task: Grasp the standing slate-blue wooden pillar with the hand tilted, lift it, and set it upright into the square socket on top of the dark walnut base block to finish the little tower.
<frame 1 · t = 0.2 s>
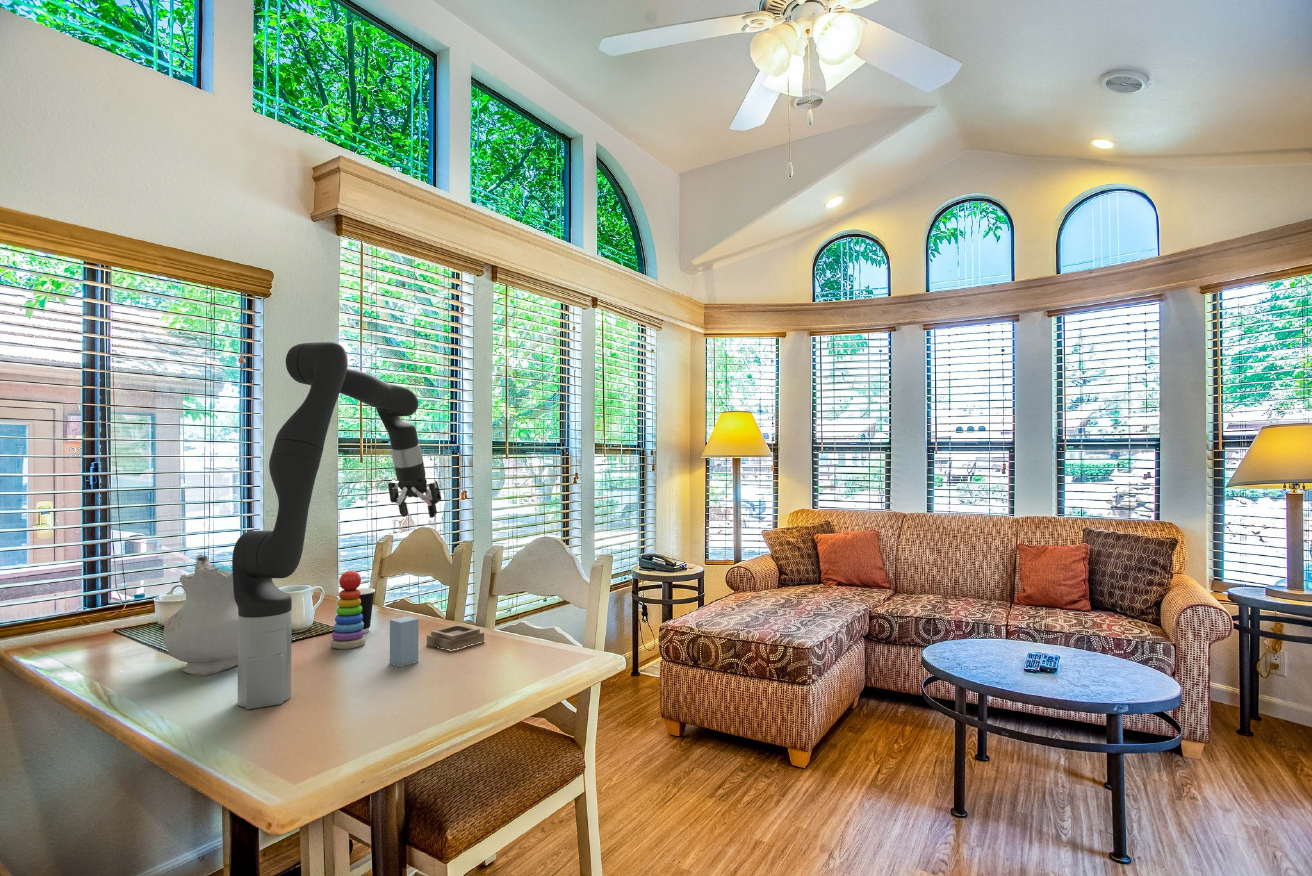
hand: (419, 516, 192), 31 cm above the table, tool tilted 20°, fingers open, 8 cm apart
stacking toy: (348, 646, 175), on the table
walnut socket base: (455, 643, 176), on the table
ceramic pitcher: (211, 666, 159), on the table
dixie cup: (359, 632, 189), on the table
slate-blue pillar: (404, 662, 160), on the table
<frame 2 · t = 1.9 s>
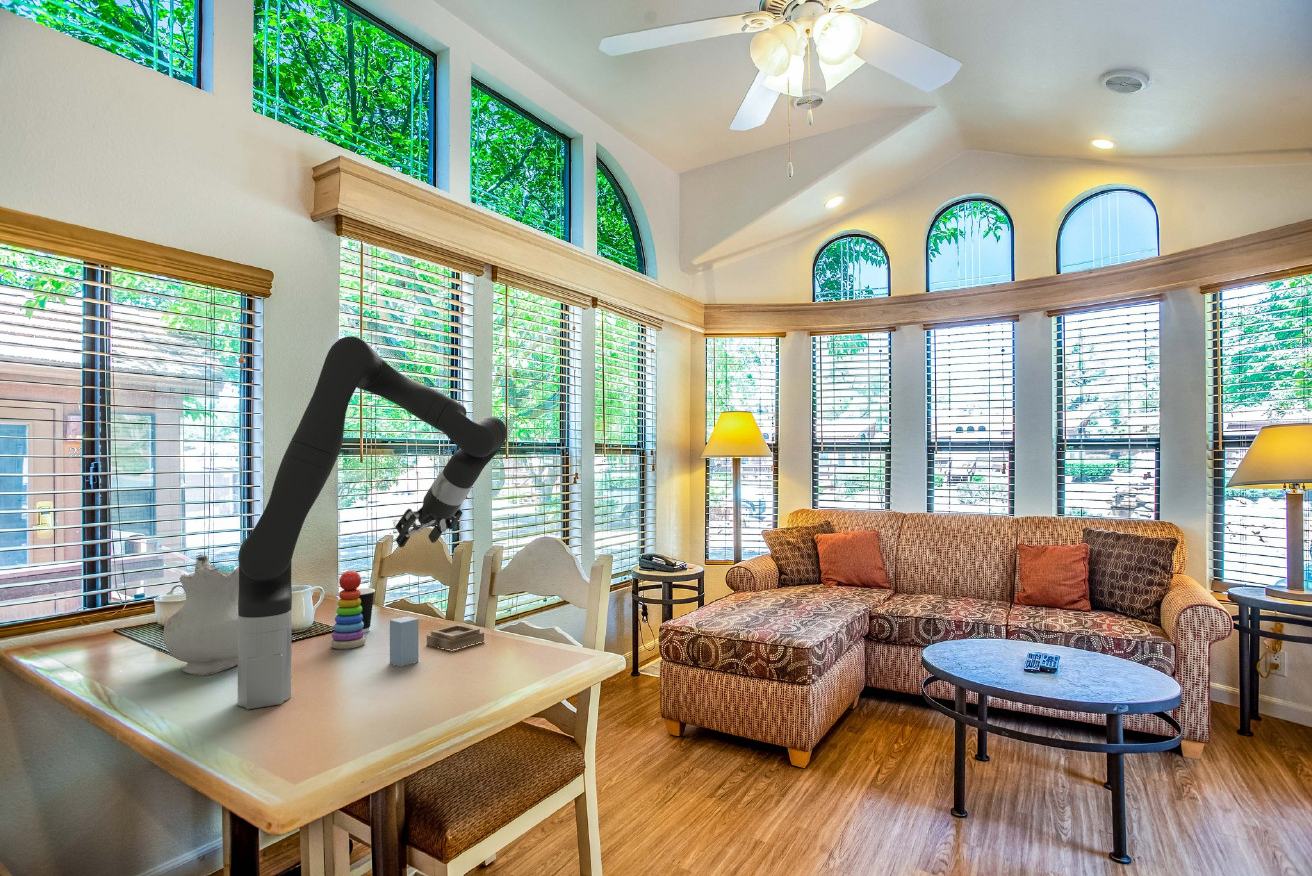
hand: (415, 542, 156), 28 cm above the table, tool tilted 45°, fingers open, 8 cm apart
nothing on the table moved.
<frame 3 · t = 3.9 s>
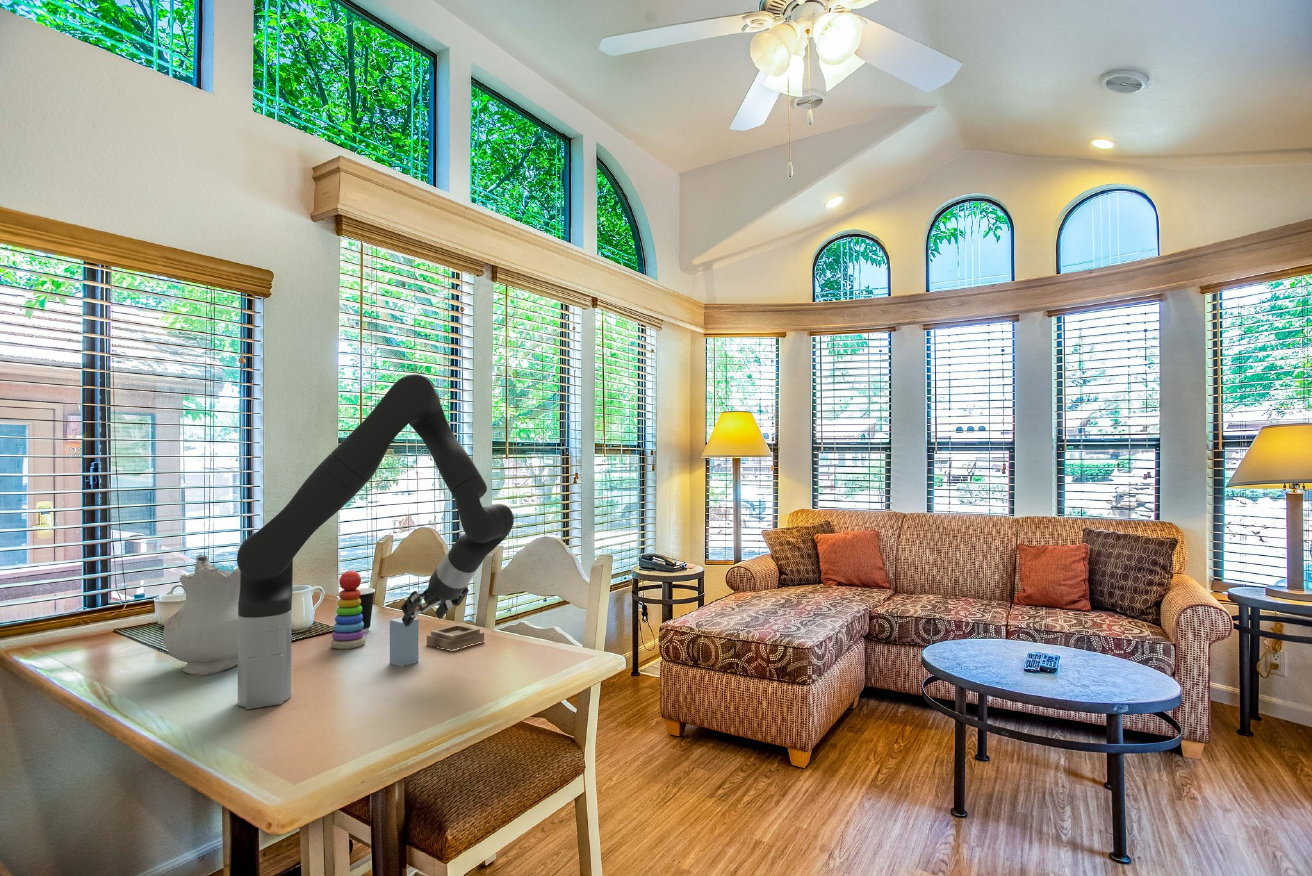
hand: (422, 619, 157), 11 cm above the table, tool tilted 45°, fingers open, 8 cm apart
nothing on the table moved.
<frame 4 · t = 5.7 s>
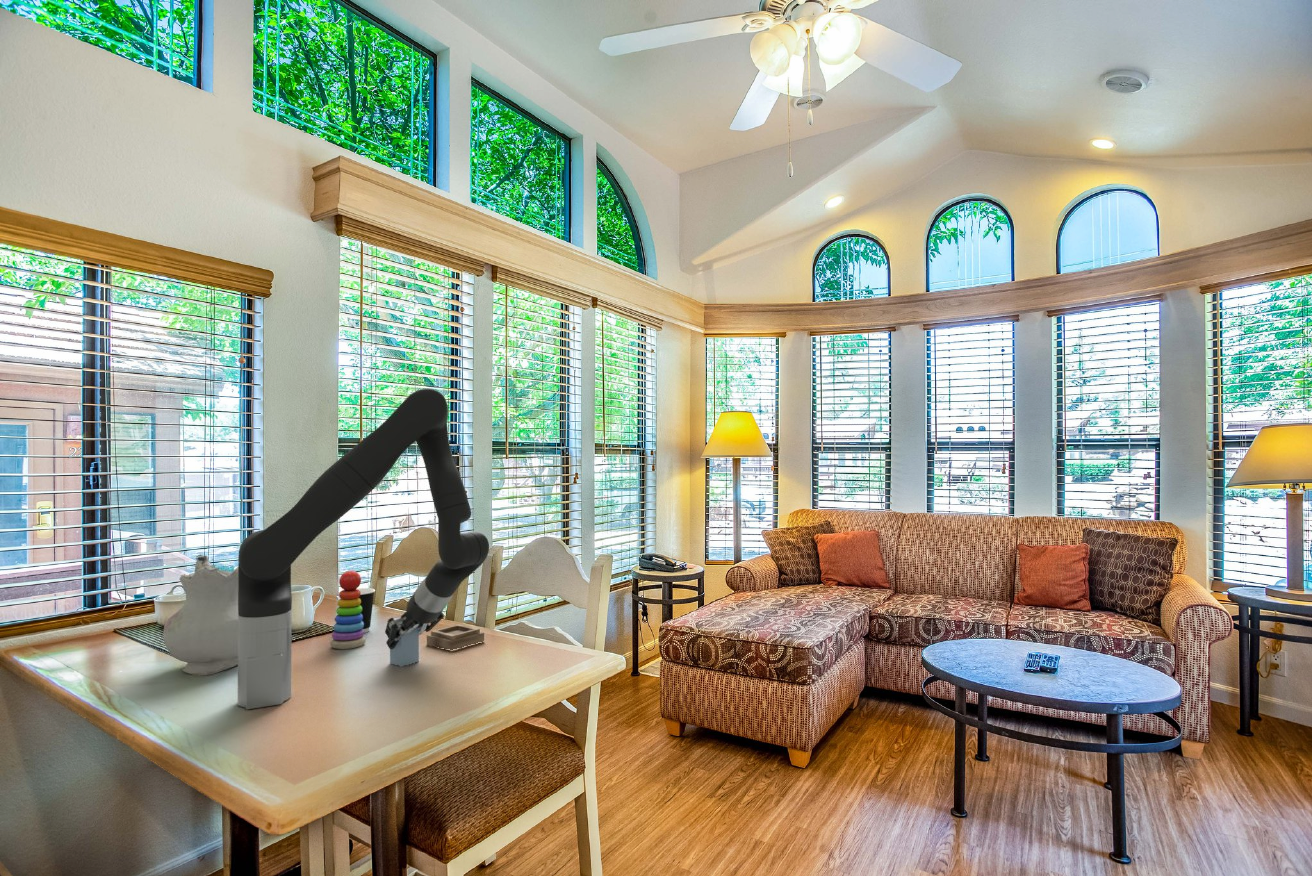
hand: (399, 643, 162), 4 cm above the table, tool tilted 45°, fingers closed on slate-blue pillar, 4 cm apart
slate-blue pillar: (404, 662, 160), on the table, touching gripper
everything else where it was.
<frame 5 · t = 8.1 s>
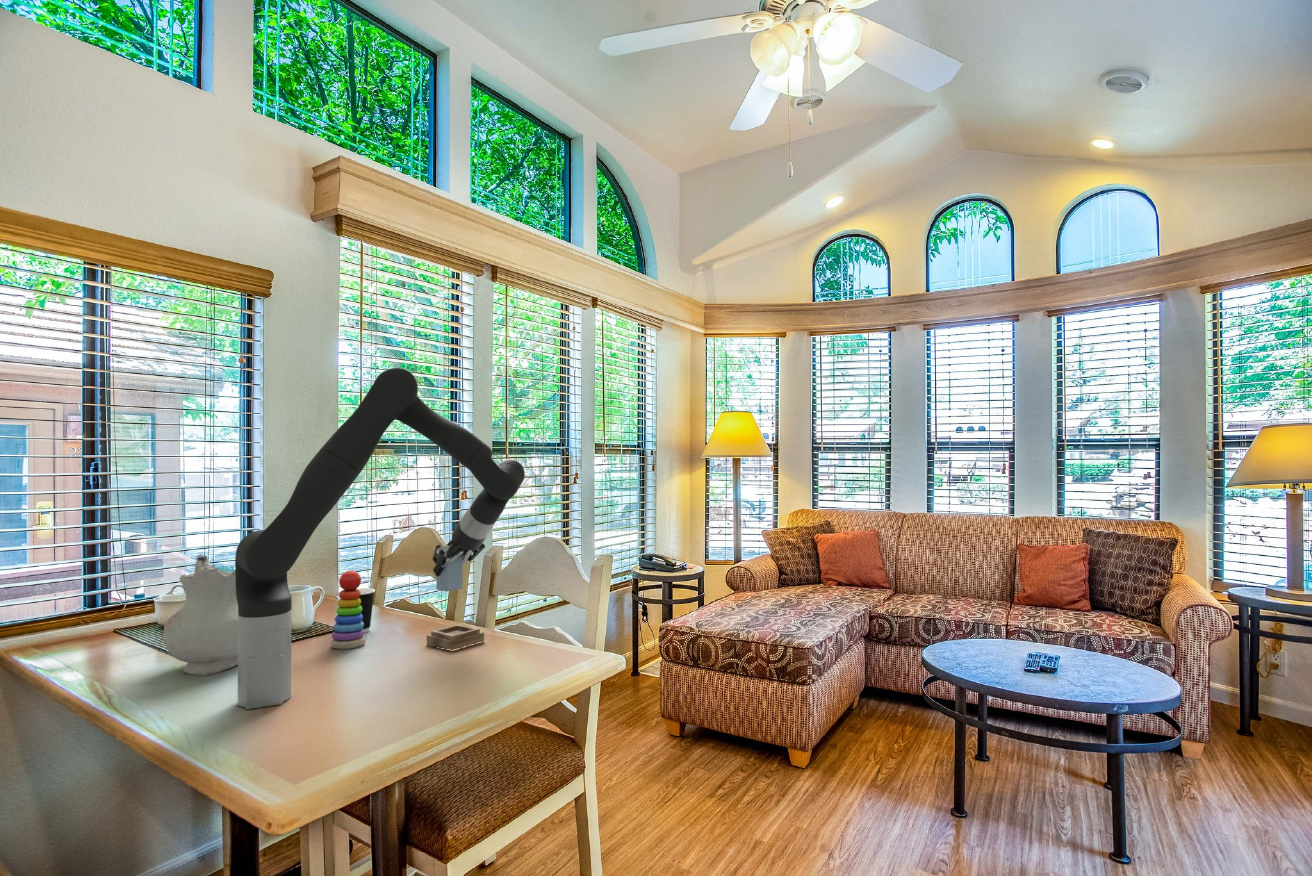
hand: (444, 571, 175), 19 cm above the table, tool tilted 45°, fingers closed on slate-blue pillar, 4 cm apart
slate-blue pillar: (449, 589, 173), point 14 cm above the table, touching gripper
everything else where it was.
when the fingers open (8 cm above the table, at t = 10.8 s): slate-blue pillar drops 1 cm, resting on walnut socket base.
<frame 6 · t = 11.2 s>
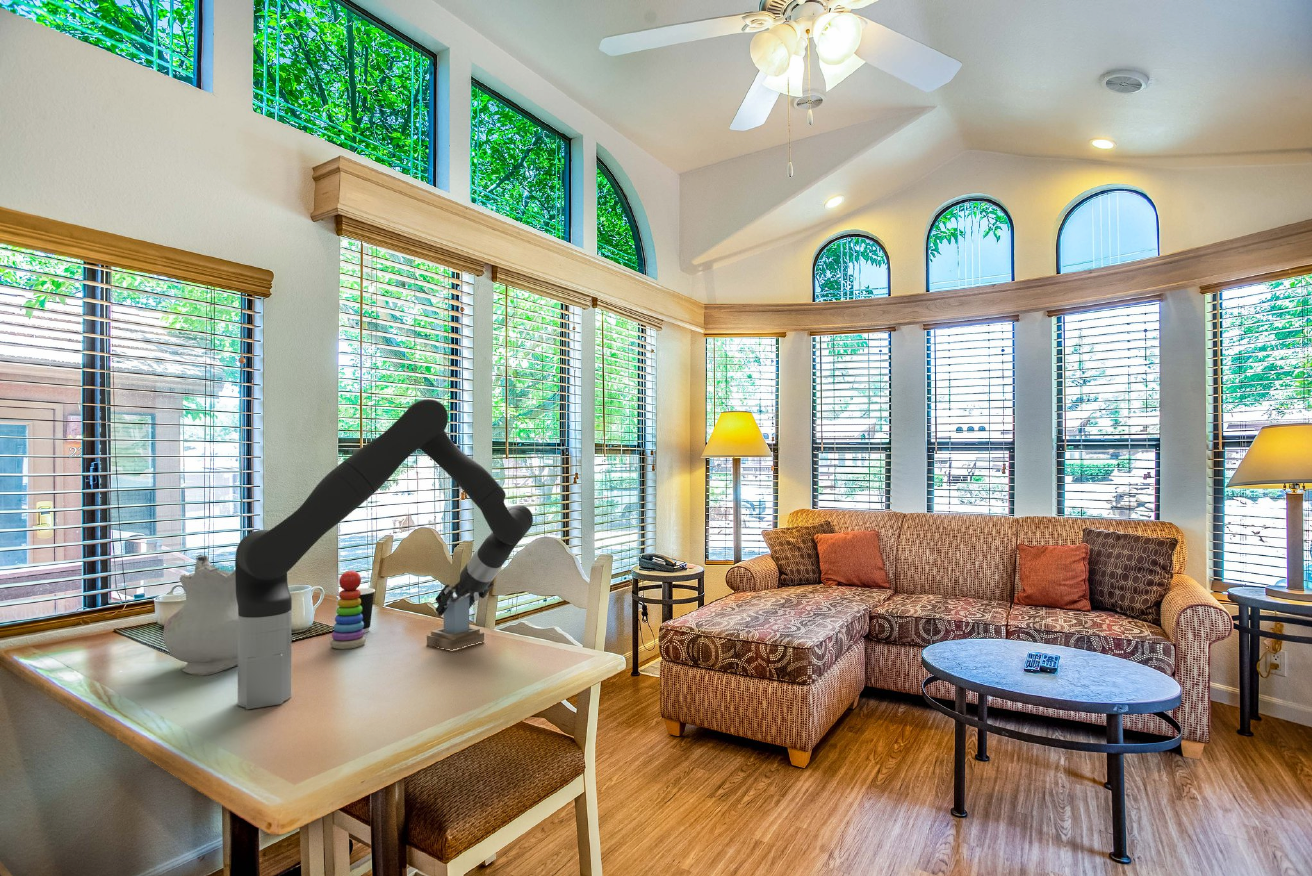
hand: (452, 609, 177), 8 cm above the table, tool tilted 45°, fingers open, 8 cm apart
slate-blue pillar: (456, 633, 176), point 2 cm above the table, touching walnut socket base
everything else where it was.
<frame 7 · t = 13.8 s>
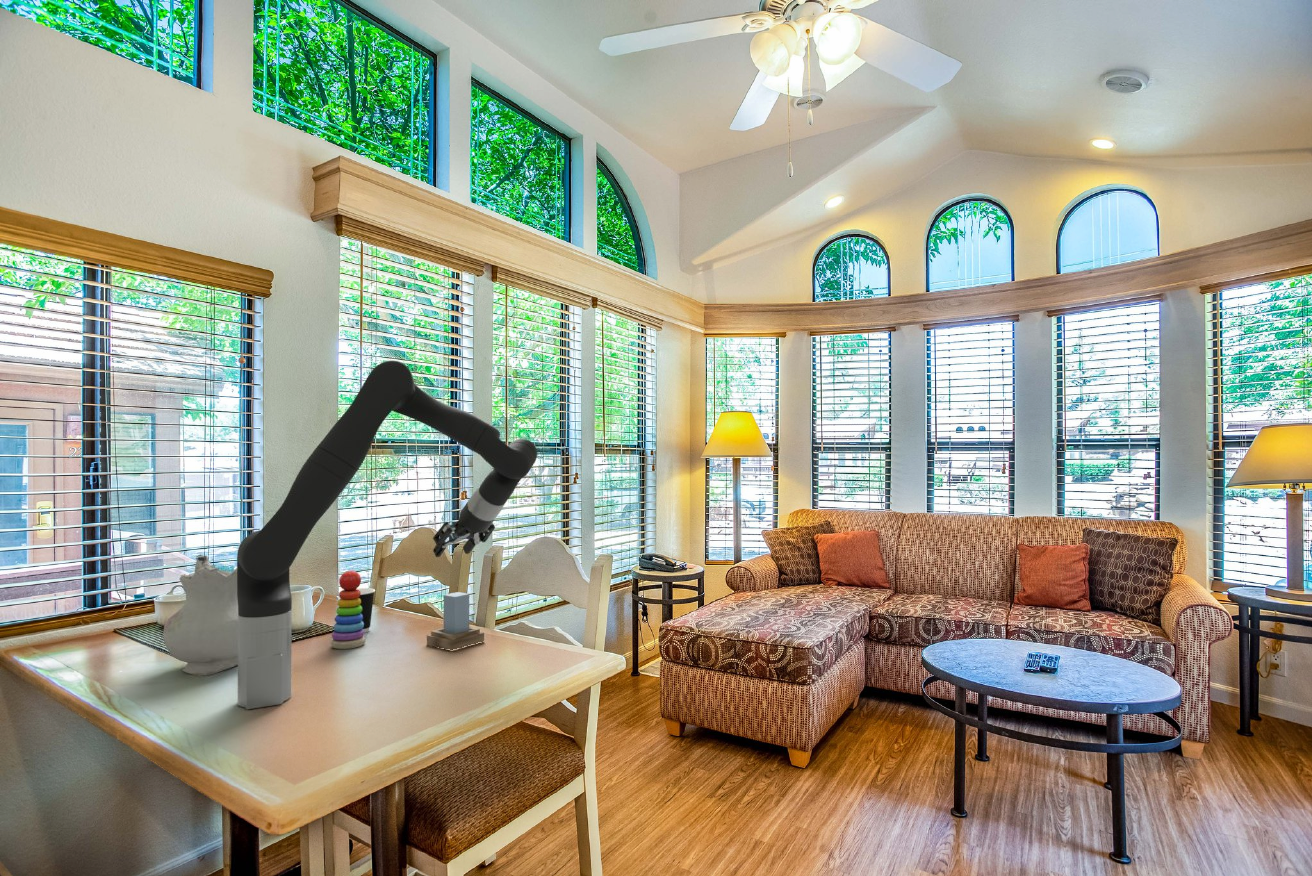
hand: (450, 552, 168), 24 cm above the table, tool tilted 45°, fingers open, 8 cm apart
nothing on the table moved.
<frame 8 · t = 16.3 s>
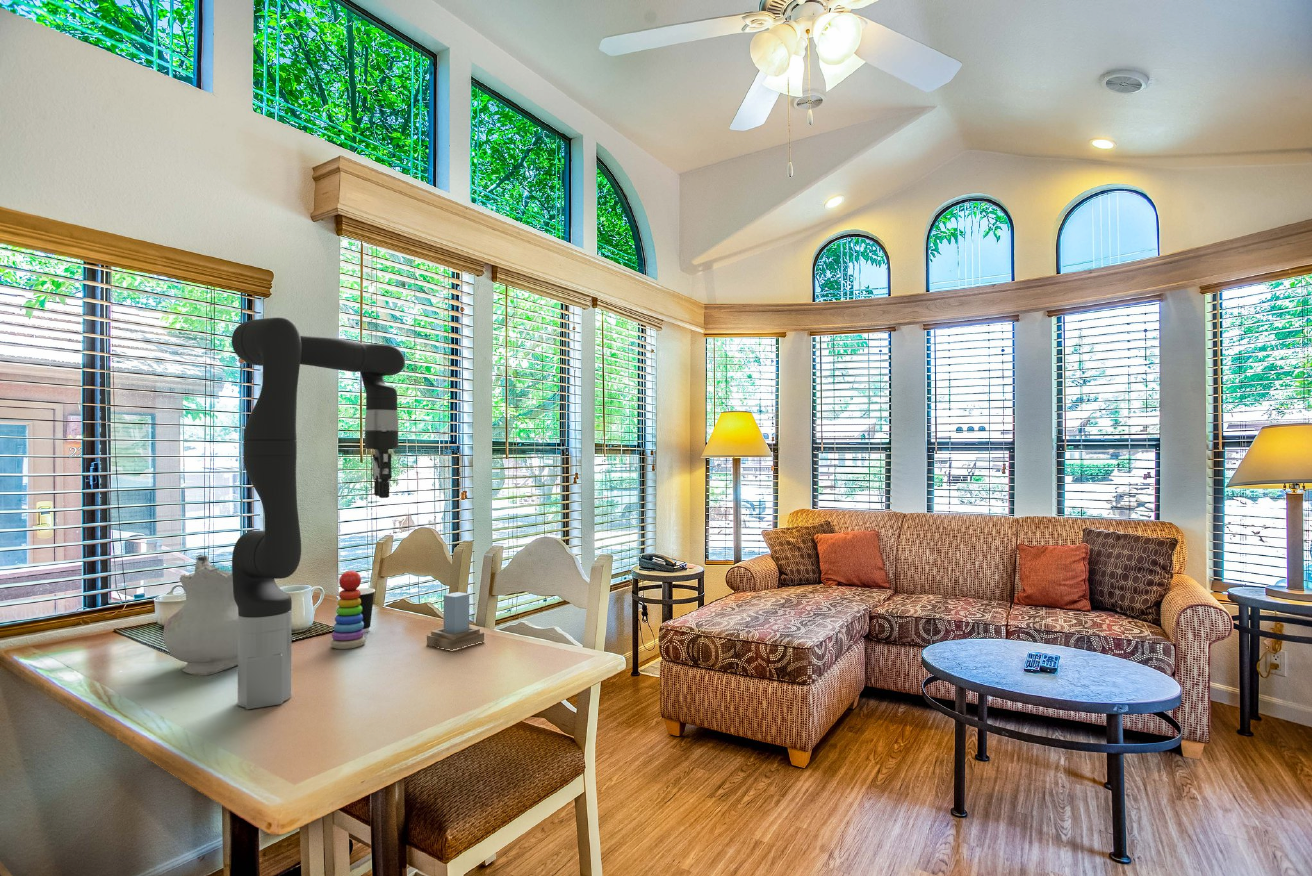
hand: (381, 496, 166), 38 cm above the table, tool pointing down, fingers open, 8 cm apart
nothing on the table moved.
at the end: slate-blue pillar 0.2 cm off-centre on the walnut socket base, point 2.5 cm above the walnut socket base's base; slate-blue pillar tilted 0°; the gripper is holding nothing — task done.
